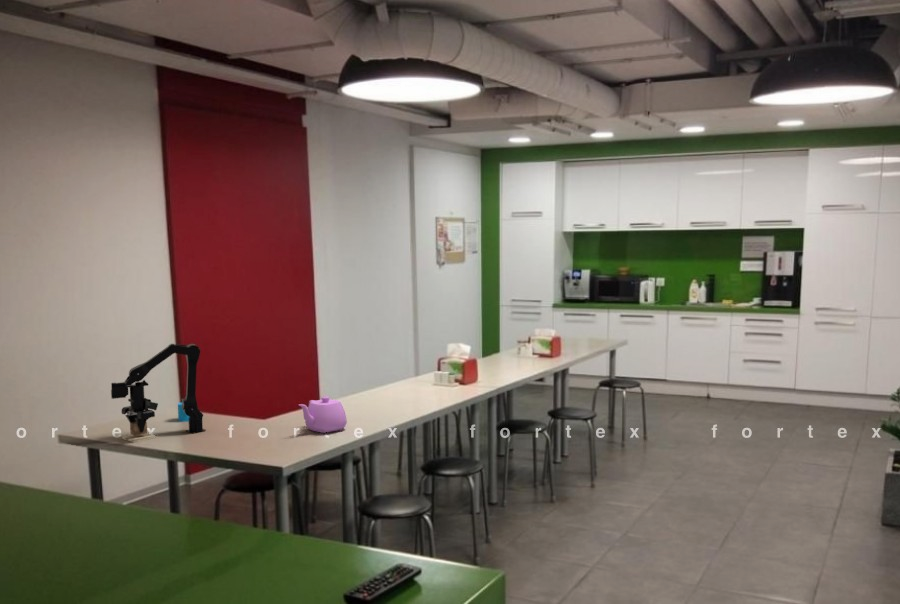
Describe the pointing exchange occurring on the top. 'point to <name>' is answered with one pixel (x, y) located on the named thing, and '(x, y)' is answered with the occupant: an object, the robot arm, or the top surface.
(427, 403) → the top surface
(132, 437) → the birch coaster
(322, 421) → the teapot
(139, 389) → the robot arm
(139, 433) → the walnut cube
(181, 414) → the mug
